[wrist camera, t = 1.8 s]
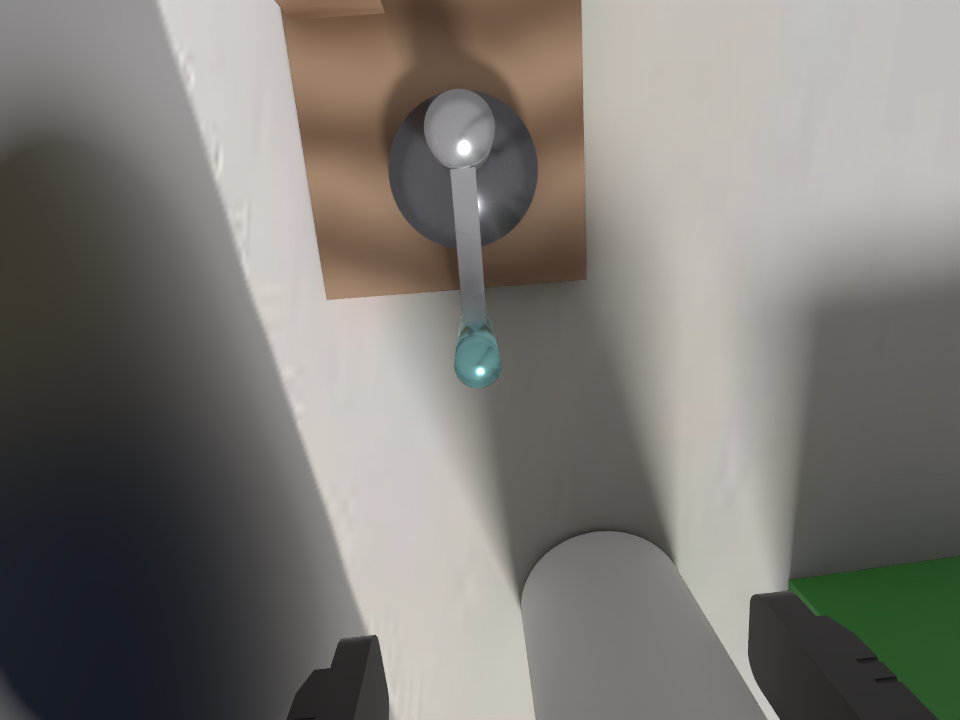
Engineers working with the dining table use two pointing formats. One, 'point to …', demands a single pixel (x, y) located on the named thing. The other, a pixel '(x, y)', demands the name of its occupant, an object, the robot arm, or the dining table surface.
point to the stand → (402, 87)
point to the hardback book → (901, 622)
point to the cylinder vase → (624, 638)
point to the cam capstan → (465, 199)
